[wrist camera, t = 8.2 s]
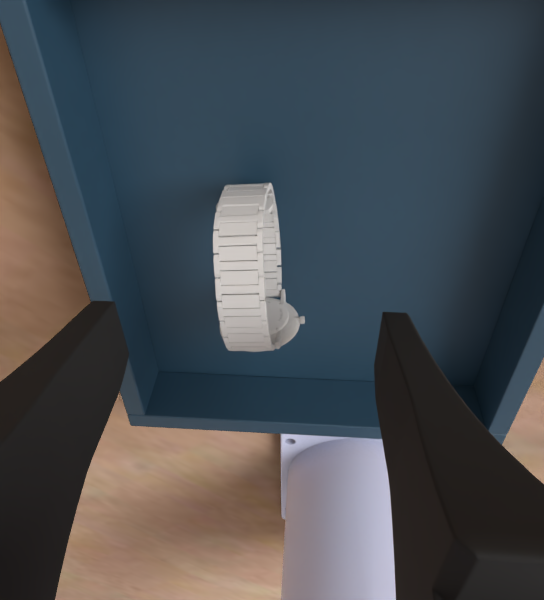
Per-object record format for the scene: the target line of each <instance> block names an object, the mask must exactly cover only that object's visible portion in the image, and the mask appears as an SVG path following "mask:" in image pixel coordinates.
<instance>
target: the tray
mask: <svg viewBox="0 0 544 600" xmlns="http://www.w3.org/2000/svg"><path fill="white" fill-rule="evenodd" d="M0 24H1V27H2V30H3V34H4V37H5V40H6V43H7V46H8V49H9V52H10V55H11V58H12V61H13V64H14V67H15V70H16V74H17V77H18V80H19V83H20V86H21V89H22V92H23V95H24V98H25V101H26V104H27V107H28V110H29V113H30V117H31V120H32V123H33V126H34V129H35V132H36V135H37V138H38V141H39V144H40V147H41V150H42V153H43V157H44V160H45V163H46V166H47V169H48V172H49V175H50V178H51V181H52V184H53V187H54V190H55V193H56V196H57V200H58V203H59V206H60V209H61V212H62V215H63V218H64V221H65V224H66V227H67V230H68V233H69V236H70V240H71V243H72V246H73V249H74V252H75V255H76V258H77V261H78V264H79V267H80V270H81V273H82V276H83V279H84V283H85V286H86V289H87V292H88V295H89V298H90V301H91V302H92V301H115V304H116V308H117V312H118V315H119V319H120V322H121V326H122V329H123V333H124V337H125V340H126V344H127V347H128V351H129V358H128V362H127V366H126V370H125V374H124V378H123V382H122V385H121V388H120V393H121V396H122V399H123V402H124V406H125V409H126V412H127V414H128V418H129V421H130V425H131V426H146V427H165V428H183V429H202V430H220V431H239V432H257V433H275V434H294V435H312V436H331V437H349V438H368V439H382V436H381V430H380V424H379V418H378V412H377V406H376V398H375V378H374V362H375V356H376V350H377V344H378V338H379V331H380V325H381V319H382V313H383V312H402V313H407V314H408V315H409V316H410V318H411V320H412V322H413V324H414V325H415V327H416V329H417V331H418V333H419V335H420V337H421V338H422V340H423V342H424V343H425V345H426V347H427V349H428V350H429V352H430V354H431V355H432V357H433V358H434V360H435V361H436V363H437V364H438V366H439V367H440V369H441V370H442V372H443V373H444V375H445V376H446V378H447V379H448V381H449V382H450V384H451V385H452V386H453V388H454V389H455V390H456V392H457V393H458V394H459V396H460V397H461V398H462V400H463V401H464V402H465V404H466V405H467V406H468V407H469V409H470V410H471V411H472V412H473V414H474V415H475V416H476V417H477V418H478V419H479V421H480V422H481V423H482V424H483V425H484V426H485V427H486V429H487V430H488V431H489V432H490V433H491V434H492V435H493V436H494V437H495V438H496V439H497V440H498V442H499V443H500V444H501V445H502V443H503V441H504V439H505V437H506V434H507V433H508V431H509V429H510V427H511V425H512V423H513V421H514V419H515V417H516V414H517V412H518V410H519V408H520V406H521V404H522V402H523V400H524V398H525V396H526V393H527V391H528V389H529V387H530V385H531V383H532V381H533V379H534V377H535V375H536V373H537V370H538V368H539V366H540V364H541V362H542V360H543V358H544V0H0ZM260 183H271V184H272V186H273V190H274V195H275V202H276V206H277V215H278V221H279V231H280V244H281V247H280V248H281V266H277V267H281V269H282V283H281V286H282V289H285V294H286V303H288V304H290V305H291V306H292V307H293V308H294V309H295V310H296V312H297V313H298V316H299V317H300V316H304V317H305V324H300V326H299V329H298V332H297V333H296V335H295V336H294V337H293V338H292V339H291V340H290V341H289V342H287V343H286V344H284V345H282V346H281V347H280V349H275V350H274V351H262V352H249V351H229V350H228V348H226V346H225V343H224V339H223V338H222V336H221V334H220V321H219V317H218V310H217V300H216V290H215V278H216V277H215V274H214V262H213V259H214V253H213V231H214V219H215V213H216V205H217V203H218V202H219V199H220V197H221V194H222V191H223V190H224V187H225V186H226V185H238V184H260ZM224 247H226V246H224ZM241 261H244V260H241ZM277 285H278V284H277ZM269 298H275V299H279V300H280V299H281V297H269Z"/></svg>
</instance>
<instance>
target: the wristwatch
mask: <svg viewBox="0 0 544 600" xmlns="http://www.w3.org/2000/svg"><path fill="white" fill-rule="evenodd" d="M224 246H226V247H224ZM280 247H281V244H280V231H279V221H278V215H277V206H276V202H275V195H274V190H273V186H272V184H271V183H260V184H238V185H226V186H225V187H224V190H223V191H222V194H221V197H220V199H219V202H218V203H217V205H216V213H215V219H214V231H213V253H214V259H213V262H214V274H215V277H216V278H215V290H216V300H217V310H218V317H219V321H220V334H221V336H222V338H223V339H224V343H225V346H226V348H228V350H229V351H249V352H262V351H274V350H275V349H280V347H281V346H282V345H284V344H286V343H287V342H289V341H290V340H291V339H292V338H293V337H294V336H295V335H296V333H297V332H298V329H299V326H300V324H305V317H304V316H300V317H299V316H298V313H297V312H296V310H295V309H294V308H293V307H292V306H291V305H290V304H288V303H286V294H285V289H282V286H281V283H282V269H281V267H277V266H281V248H280ZM241 260H244V261H241ZM277 284H278V285H277ZM269 297H281V299H280V300H279V299H275V298H269Z"/></svg>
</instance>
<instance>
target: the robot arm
mask: <svg viewBox="0 0 544 600" xmlns="http://www.w3.org/2000/svg"><path fill="white" fill-rule="evenodd" d="M128 358H129V351H128V347H127V344H126V340H125V337H124V333H123V329H122V326H121V322H120V319H119V315H118V312H117V308H116V304H115V301H92V302H91V303H90V304H89V305H88V306H86V307H85V308H84V309H83V310H82V311H81V312H80V313H79V314H78V315H77V316H76V317H75V318H74V319H72V320H71V321H70V322H69V323H68V324H67V325H66V326H65V327H64V328H63V329H62V330H61V331H60V332H59V333H57V334H56V335H55V336H54V337H53V338H52V339H51V340H50V341H49V342H48V343H46V344H45V345H44V346H43V347H42V348H41V349H40V350H39V351H38V352H36V353H35V354H34V355H33V356H32V357H30V358H29V359H28V360H27V361H26V362H24V363H23V364H22V365H21V366H20V367H18V368H17V369H16V370H15V371H13V372H12V373H11V374H10V375H9V376H7V377H6V378H5V379H3V380H2V381H1V382H0V600H55V597H56V592H57V587H58V582H59V577H60V573H61V569H62V565H63V560H64V556H65V552H66V548H67V543H68V539H69V535H70V532H71V528H72V524H73V520H74V517H75V513H76V509H77V505H78V502H79V498H80V495H81V491H82V488H83V485H84V481H85V478H86V474H87V471H88V468H89V466H90V463H91V460H92V457H93V455H94V452H95V450H96V447H97V445H98V443H99V440H100V438H101V435H102V433H103V430H104V428H105V426H106V423H107V421H108V418H109V416H110V413H111V411H112V408H113V406H114V404H115V401H116V399H117V396H118V393H119V391H120V388H121V385H122V382H123V378H124V374H125V370H126V366H127V362H128ZM374 378H375V398H376V406H377V412H378V418H379V424H380V430H381V436H382V439H368V438H349V437H331V436H312V435H294V434H280V436H281V516H282V518H283V519H285V536H284V554H283V571H282V589H281V600H544V484H543V483H541V482H540V481H539V480H538V479H537V478H536V477H535V476H533V475H532V474H531V473H530V472H529V471H528V470H527V469H526V468H525V467H524V466H523V465H522V464H521V463H520V462H519V461H518V460H517V459H516V458H514V457H513V456H512V455H511V454H510V453H509V452H508V451H507V450H506V449H505V448H504V447H503V446H502V445H501V444H500V443H499V442H498V440H497V439H496V438H495V437H494V436H493V435H492V434H491V433H490V432H489V431H488V430H487V429H486V427H485V426H484V425H483V424H482V423H481V422H480V421H479V419H478V418H477V417H476V416H475V415H474V414H473V412H472V411H471V410H470V409H469V407H468V406H467V405H466V404H465V402H464V401H463V400H462V398H461V397H460V396H459V394H458V393H457V392H456V390H455V389H454V388H453V386H452V385H451V384H450V382H449V381H448V379H447V378H446V376H445V375H444V373H443V372H442V370H441V369H440V367H439V366H438V364H437V363H436V361H435V360H434V358H433V357H432V355H431V354H430V352H429V350H428V349H427V347H426V345H425V343H424V342H423V340H422V338H421V337H420V335H419V333H418V331H417V329H416V327H415V325H414V324H413V322H412V320H411V318H410V316H409V315H408V314H407V313H402V312H383V313H382V319H381V325H380V331H379V338H378V344H377V350H376V356H375V362H374Z"/></svg>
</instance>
